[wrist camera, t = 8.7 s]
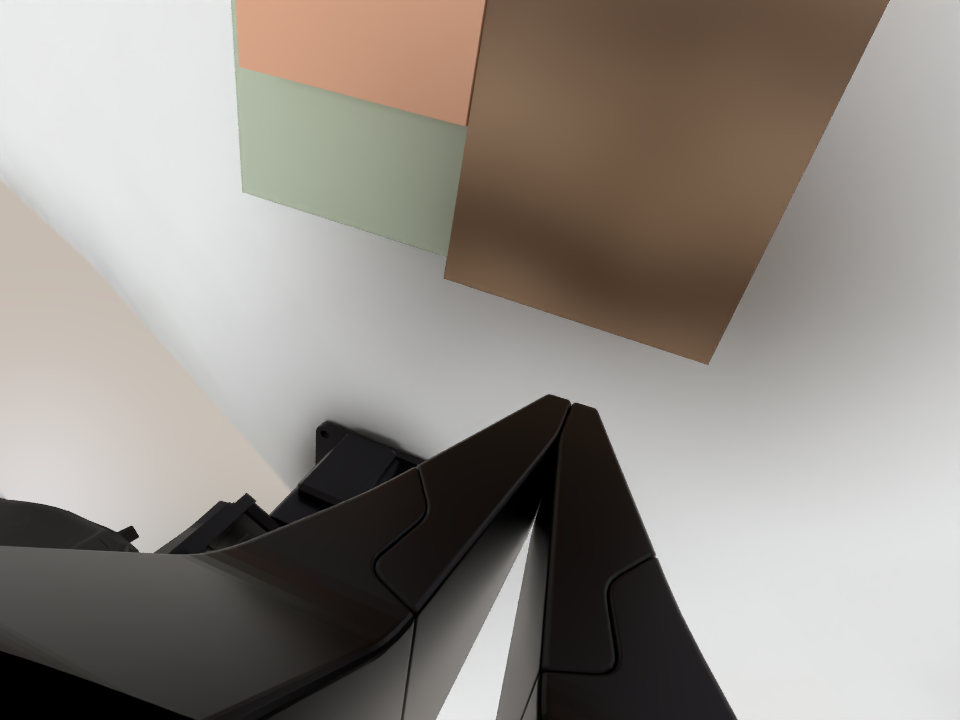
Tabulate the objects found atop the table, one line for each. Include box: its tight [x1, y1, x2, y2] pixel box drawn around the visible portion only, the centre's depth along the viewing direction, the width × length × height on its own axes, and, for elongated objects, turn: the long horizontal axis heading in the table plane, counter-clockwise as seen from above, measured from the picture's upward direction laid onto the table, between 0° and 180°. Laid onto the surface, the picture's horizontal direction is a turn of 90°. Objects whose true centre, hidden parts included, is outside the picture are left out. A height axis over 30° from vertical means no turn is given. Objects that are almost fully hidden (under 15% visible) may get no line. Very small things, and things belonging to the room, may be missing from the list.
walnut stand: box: [444, 0, 890, 365], centre depth 14 cm, size 16×9×2 cm, turn 169°
